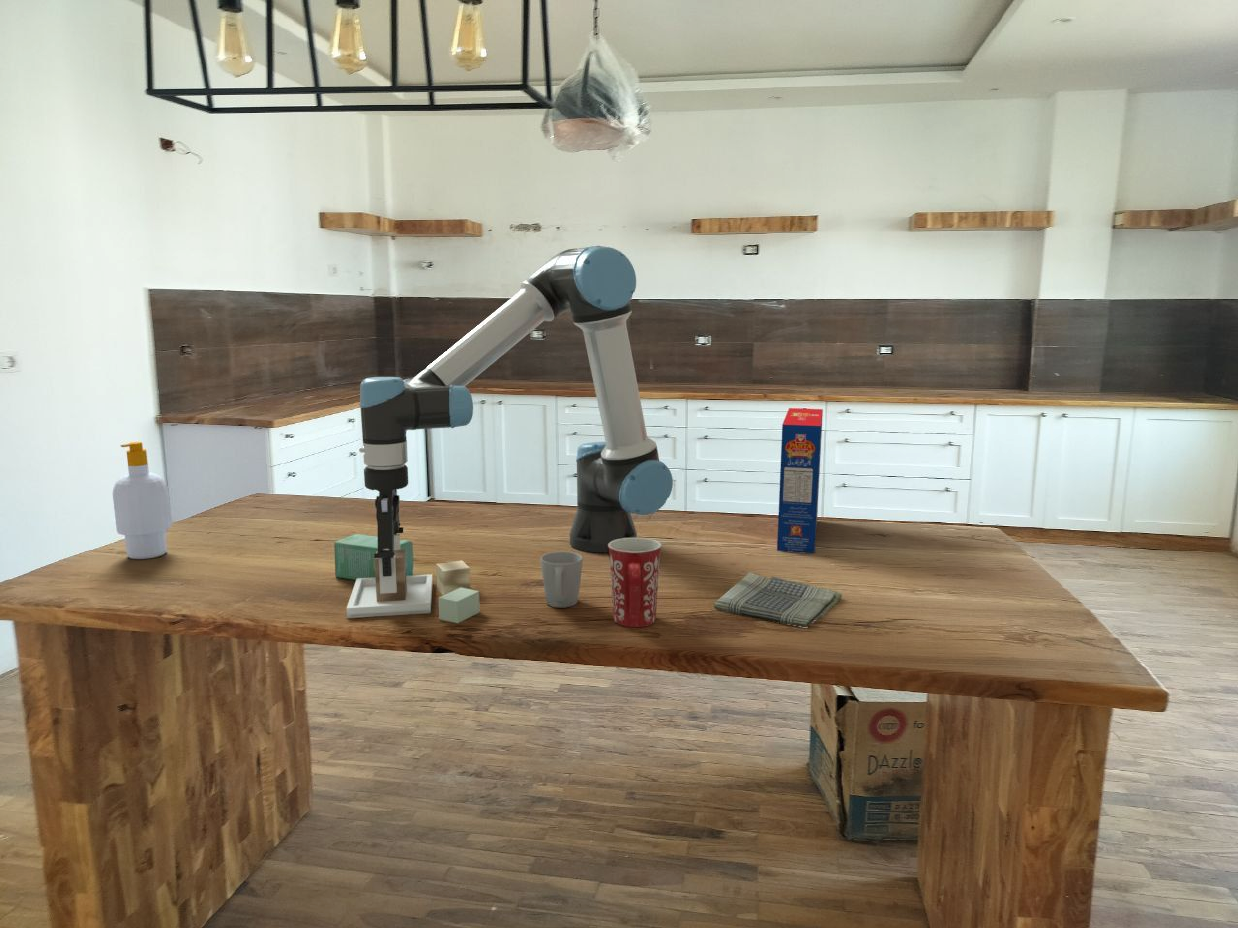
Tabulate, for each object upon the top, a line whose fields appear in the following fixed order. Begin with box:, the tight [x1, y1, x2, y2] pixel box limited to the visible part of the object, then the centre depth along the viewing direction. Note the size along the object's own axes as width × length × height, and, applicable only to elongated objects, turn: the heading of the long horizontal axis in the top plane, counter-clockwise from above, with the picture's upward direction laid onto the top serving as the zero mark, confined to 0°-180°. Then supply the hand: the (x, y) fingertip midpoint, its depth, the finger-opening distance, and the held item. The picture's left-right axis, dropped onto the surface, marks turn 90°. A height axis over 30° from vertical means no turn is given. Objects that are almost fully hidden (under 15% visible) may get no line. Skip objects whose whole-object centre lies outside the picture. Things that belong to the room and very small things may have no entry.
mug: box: [608, 537, 663, 628], centre depth 143 cm, size 13×9×14 cm
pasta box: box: [776, 407, 824, 554], centre depth 196 cm, size 28×8×28 cm, turn 166°
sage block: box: [438, 588, 481, 624], centre depth 148 cm, size 6×4×4 cm, turn 151°
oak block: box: [435, 559, 471, 596], centre depth 160 cm, size 5×5×5 cm
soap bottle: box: [112, 441, 173, 560], centre depth 179 cm, size 10×10×24 cm
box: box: [333, 533, 414, 581], centre depth 168 cm, size 7×14×8 cm, turn 71°
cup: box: [540, 551, 584, 609], centre depth 153 cm, size 8×10×8 cm
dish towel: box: [713, 572, 843, 627], centre depth 155 cm, size 19×18×3 cm
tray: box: [346, 573, 434, 619], centre depth 155 cm, size 14×16×2 cm
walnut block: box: [375, 550, 407, 602], centre depth 155 cm, size 5×5×8 cm
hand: (391, 580), depth 155 cm, fingers open, 13 cm apart
